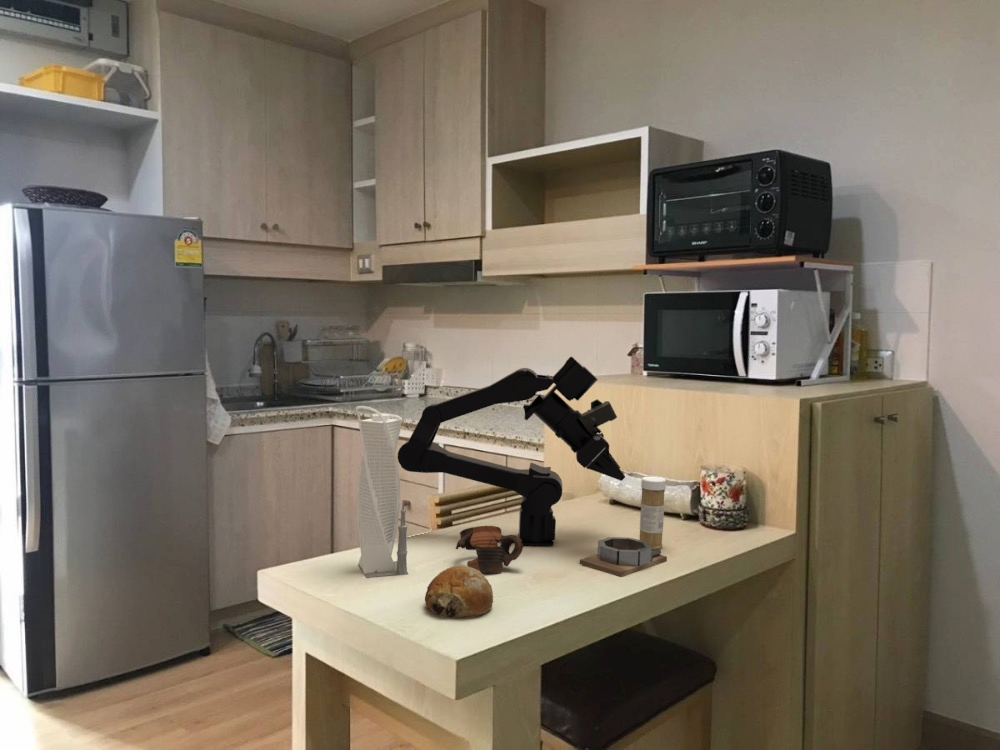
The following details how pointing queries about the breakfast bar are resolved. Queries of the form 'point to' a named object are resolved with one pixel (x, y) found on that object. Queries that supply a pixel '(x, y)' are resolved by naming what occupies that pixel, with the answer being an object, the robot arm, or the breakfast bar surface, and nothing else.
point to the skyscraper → (380, 497)
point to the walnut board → (616, 569)
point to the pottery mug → (489, 548)
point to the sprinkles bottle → (652, 511)
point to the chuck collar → (625, 551)
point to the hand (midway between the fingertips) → (620, 474)
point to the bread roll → (459, 593)
